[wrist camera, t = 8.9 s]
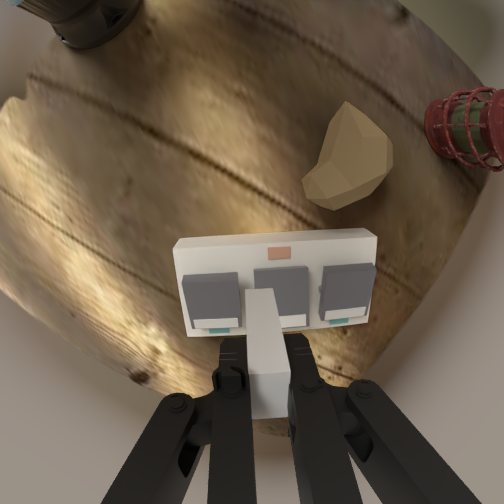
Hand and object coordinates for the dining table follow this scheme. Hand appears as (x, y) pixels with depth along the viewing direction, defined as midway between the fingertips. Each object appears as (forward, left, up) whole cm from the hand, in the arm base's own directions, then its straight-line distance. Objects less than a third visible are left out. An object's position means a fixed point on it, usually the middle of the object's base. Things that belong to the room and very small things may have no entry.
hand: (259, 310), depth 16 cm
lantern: (-14, +34, -28) cm, 46 cm away
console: (+10, +4, -28) cm, 30 cm away
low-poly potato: (-7, +13, -28) cm, 31 cm away
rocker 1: (+10, -5, -20) cm, 23 cm away
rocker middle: (+10, +4, -20) cm, 23 cm away
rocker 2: (+10, +13, -20) cm, 26 cm away
